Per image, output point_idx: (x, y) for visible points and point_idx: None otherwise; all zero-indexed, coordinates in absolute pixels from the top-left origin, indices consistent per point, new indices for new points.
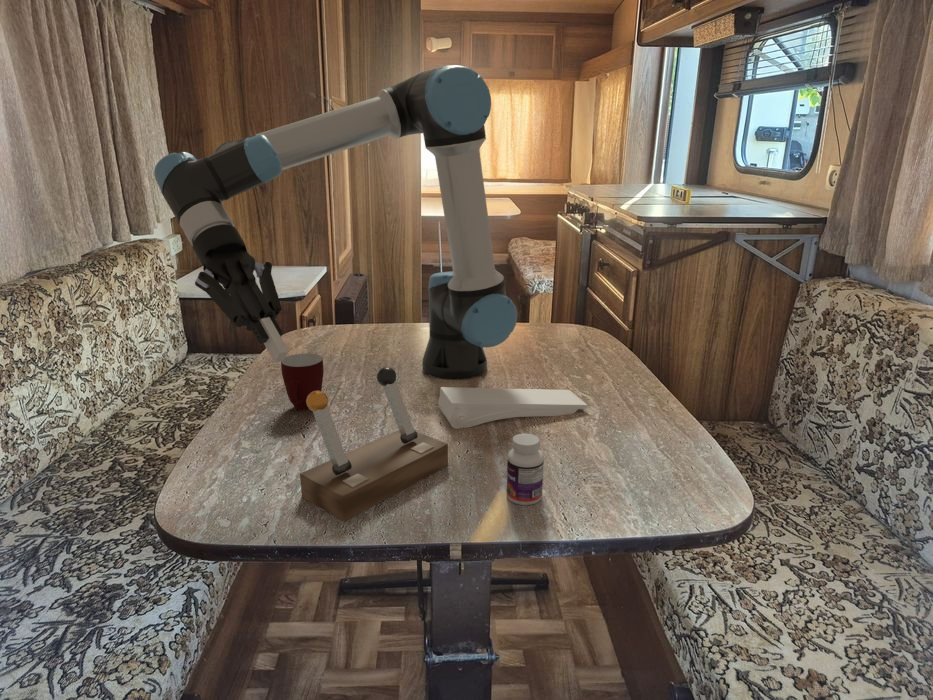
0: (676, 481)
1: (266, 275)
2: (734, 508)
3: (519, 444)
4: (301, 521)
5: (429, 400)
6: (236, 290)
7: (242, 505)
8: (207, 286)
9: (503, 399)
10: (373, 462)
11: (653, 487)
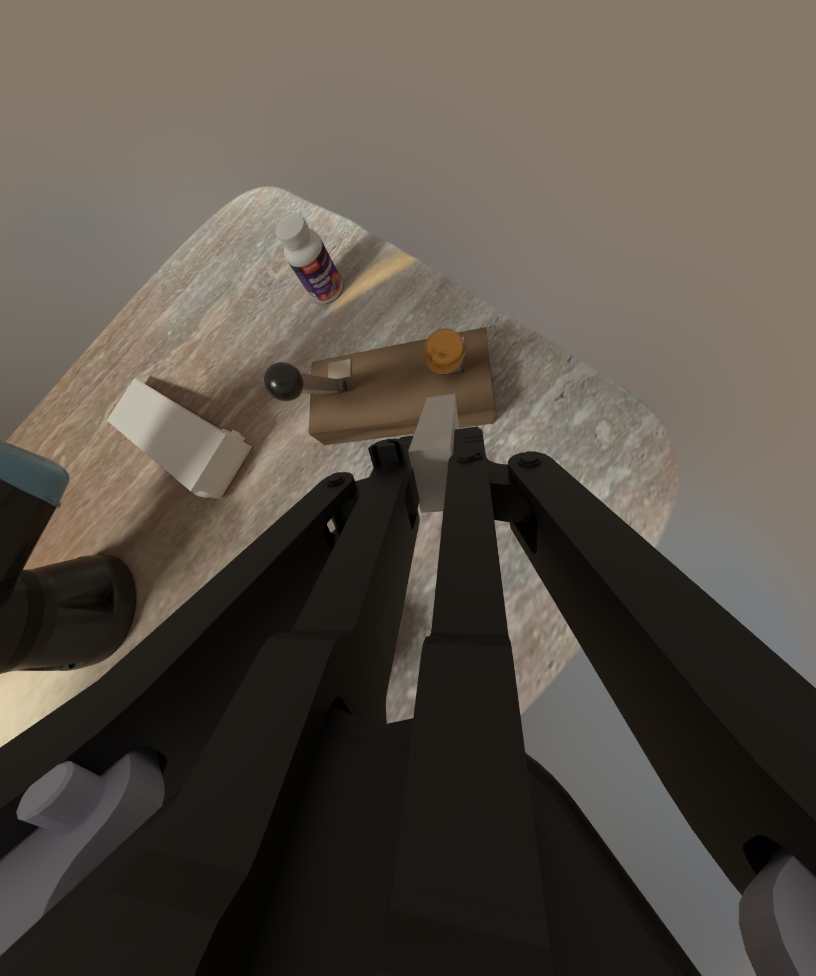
0: (229, 244)
1: (151, 669)
2: (243, 199)
3: (304, 220)
4: (523, 377)
5: (202, 541)
6: (502, 596)
7: (565, 454)
8: None
9: (175, 422)
10: (405, 375)
11: (248, 247)
